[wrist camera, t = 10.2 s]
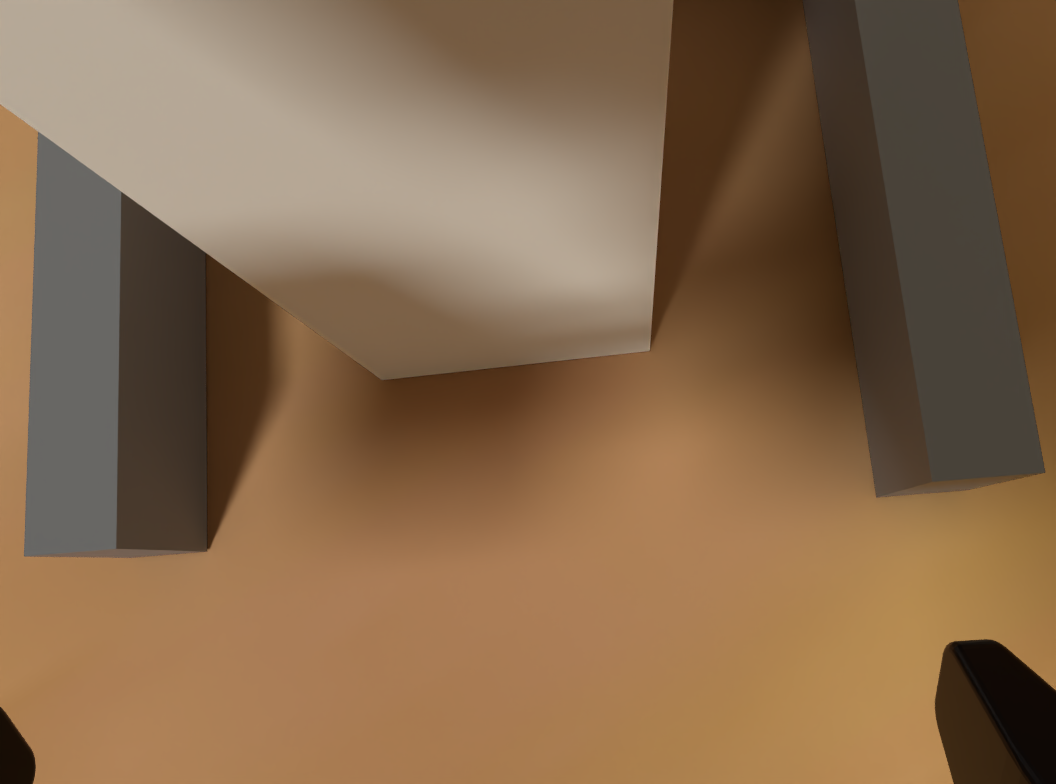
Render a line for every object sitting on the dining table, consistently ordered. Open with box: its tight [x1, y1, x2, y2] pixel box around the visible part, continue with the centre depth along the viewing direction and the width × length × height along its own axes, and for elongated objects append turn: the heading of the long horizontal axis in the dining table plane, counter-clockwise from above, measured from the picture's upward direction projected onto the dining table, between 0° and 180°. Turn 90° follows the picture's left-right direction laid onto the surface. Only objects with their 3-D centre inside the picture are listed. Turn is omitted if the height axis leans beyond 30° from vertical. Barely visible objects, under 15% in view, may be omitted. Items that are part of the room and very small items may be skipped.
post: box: [0, 0, 674, 380], centre depth 11 cm, size 5×5×13 cm
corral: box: [24, 0, 1045, 558], centre depth 16 cm, size 12×15×3 cm
